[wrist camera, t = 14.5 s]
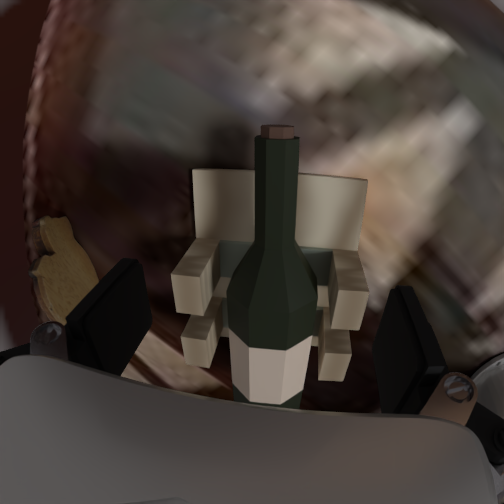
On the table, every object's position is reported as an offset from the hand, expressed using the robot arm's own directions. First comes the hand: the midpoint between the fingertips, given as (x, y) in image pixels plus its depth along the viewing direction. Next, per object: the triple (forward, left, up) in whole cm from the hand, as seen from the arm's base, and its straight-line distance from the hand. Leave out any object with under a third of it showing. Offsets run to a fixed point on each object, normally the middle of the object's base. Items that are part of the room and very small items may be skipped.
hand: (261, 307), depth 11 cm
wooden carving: (+25, +11, -19) cm, 33 cm away
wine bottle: (0, +25, -14) cm, 29 cm away
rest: (+1, +9, -19) cm, 21 cm away
